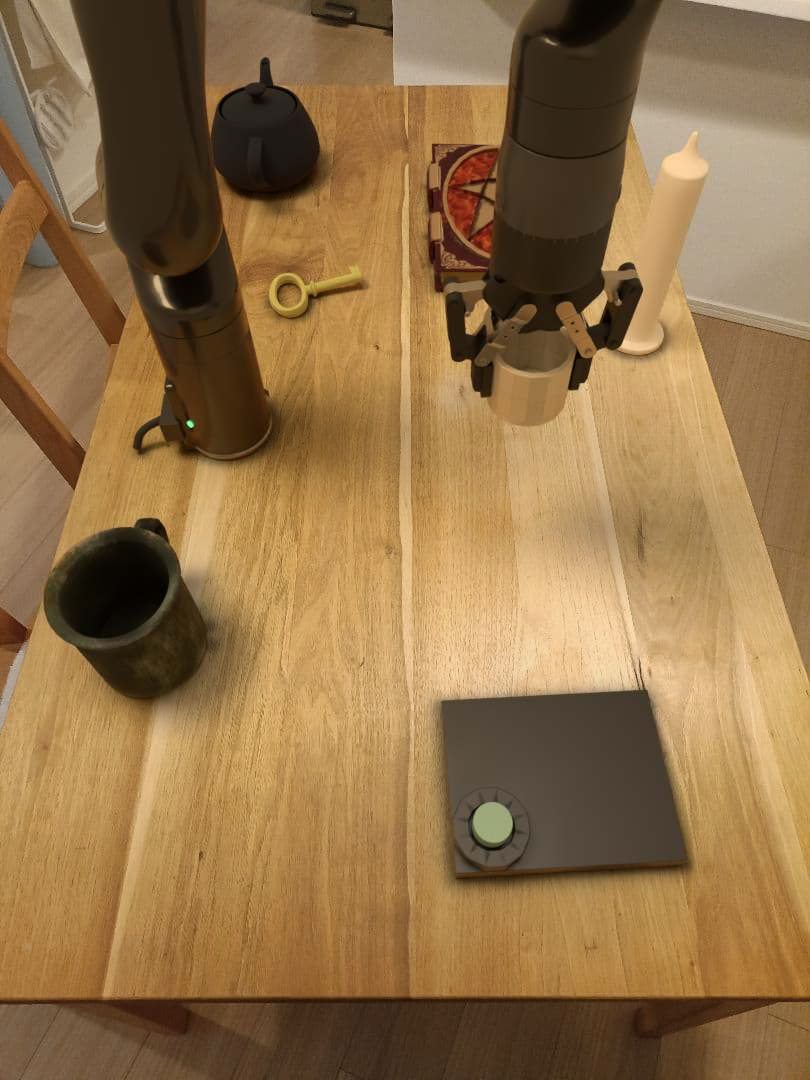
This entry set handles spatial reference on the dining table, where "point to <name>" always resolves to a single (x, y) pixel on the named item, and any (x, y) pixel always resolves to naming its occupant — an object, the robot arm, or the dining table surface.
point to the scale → (560, 783)
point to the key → (308, 289)
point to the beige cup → (532, 377)
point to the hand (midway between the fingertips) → (527, 386)
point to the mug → (127, 609)
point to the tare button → (492, 824)
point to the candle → (664, 242)
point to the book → (461, 210)
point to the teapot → (263, 136)
